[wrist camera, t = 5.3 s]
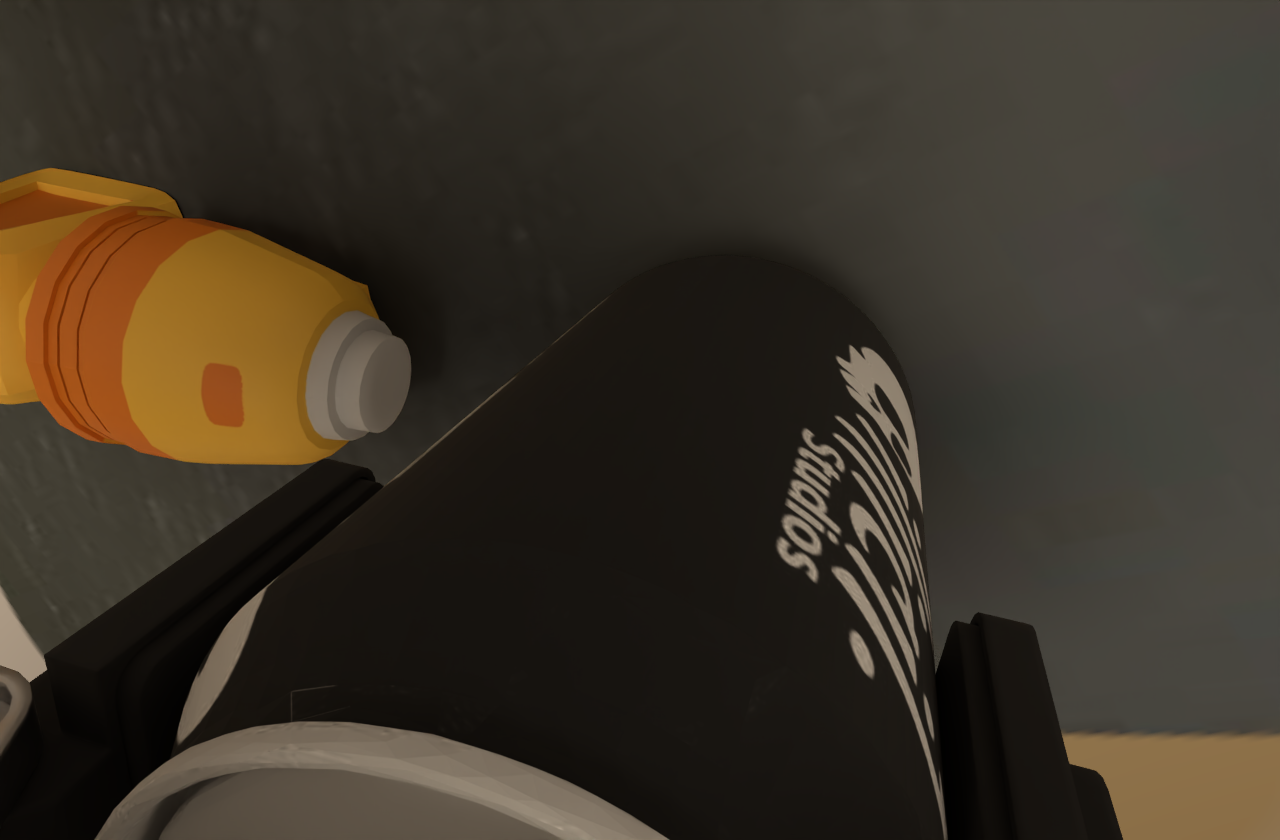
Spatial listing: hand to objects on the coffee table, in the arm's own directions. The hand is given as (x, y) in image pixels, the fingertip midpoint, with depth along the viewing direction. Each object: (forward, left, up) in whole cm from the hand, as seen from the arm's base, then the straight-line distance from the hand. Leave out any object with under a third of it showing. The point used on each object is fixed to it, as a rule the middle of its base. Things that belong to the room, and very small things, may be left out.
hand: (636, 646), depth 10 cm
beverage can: (0, 0, -7) cm, 7 cm away
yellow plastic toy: (-13, -1, -10) cm, 17 cm away
